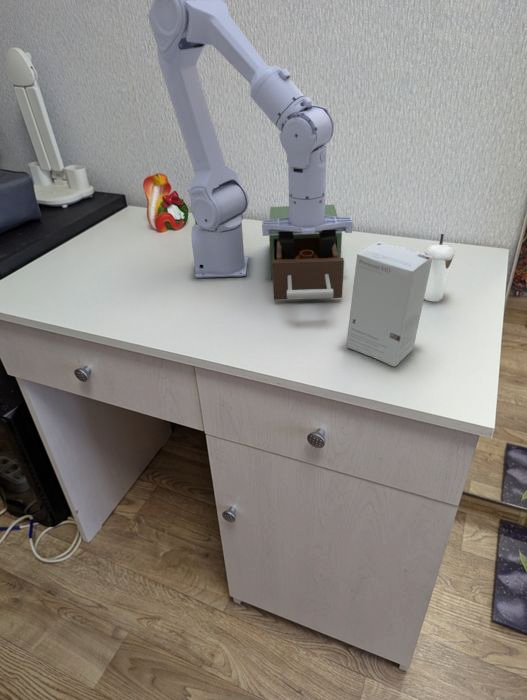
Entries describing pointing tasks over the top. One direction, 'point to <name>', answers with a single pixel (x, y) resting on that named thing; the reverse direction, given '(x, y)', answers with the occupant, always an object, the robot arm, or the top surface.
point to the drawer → (307, 273)
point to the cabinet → (284, 212)
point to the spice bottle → (306, 255)
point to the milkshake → (438, 269)
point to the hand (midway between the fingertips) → (306, 272)
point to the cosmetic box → (387, 301)
